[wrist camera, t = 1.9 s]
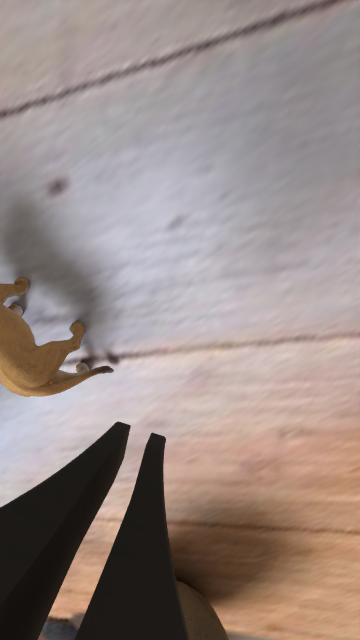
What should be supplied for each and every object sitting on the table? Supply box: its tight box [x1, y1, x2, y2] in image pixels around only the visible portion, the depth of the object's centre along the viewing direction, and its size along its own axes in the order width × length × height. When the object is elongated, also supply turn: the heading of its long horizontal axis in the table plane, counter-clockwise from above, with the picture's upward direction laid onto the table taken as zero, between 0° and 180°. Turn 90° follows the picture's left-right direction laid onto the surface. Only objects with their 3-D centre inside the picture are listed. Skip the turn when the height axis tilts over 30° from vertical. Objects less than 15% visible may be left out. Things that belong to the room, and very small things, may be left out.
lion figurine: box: [0, 278, 114, 397], centre depth 17 cm, size 15×5×9 cm, turn 58°
